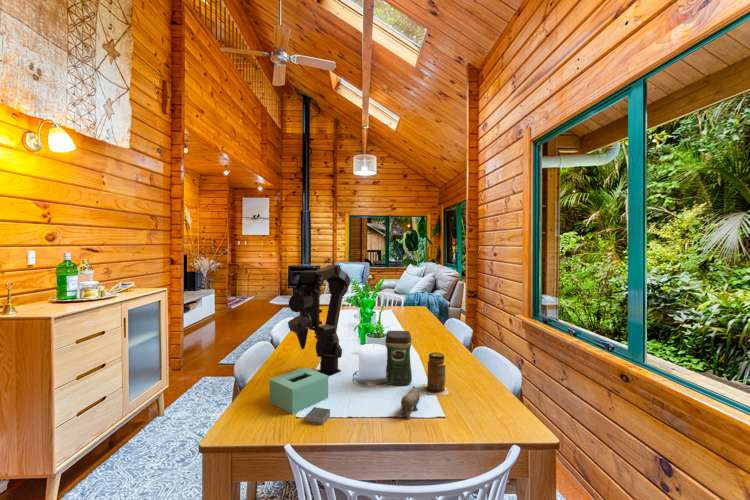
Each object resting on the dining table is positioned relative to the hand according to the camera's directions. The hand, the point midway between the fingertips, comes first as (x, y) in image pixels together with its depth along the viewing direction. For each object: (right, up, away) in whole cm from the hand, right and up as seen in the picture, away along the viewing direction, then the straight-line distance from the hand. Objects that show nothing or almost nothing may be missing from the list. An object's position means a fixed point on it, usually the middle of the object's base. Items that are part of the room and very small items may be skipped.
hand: (311, 351), depth 123 cm
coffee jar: (+31, -13, +6) cm, 34 cm away
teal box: (-2, -13, -10) cm, 16 cm away
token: (+6, -13, -22) cm, 26 cm away
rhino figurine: (+34, -13, -15) cm, 39 cm away
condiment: (+43, -13, -1) cm, 45 cm away
